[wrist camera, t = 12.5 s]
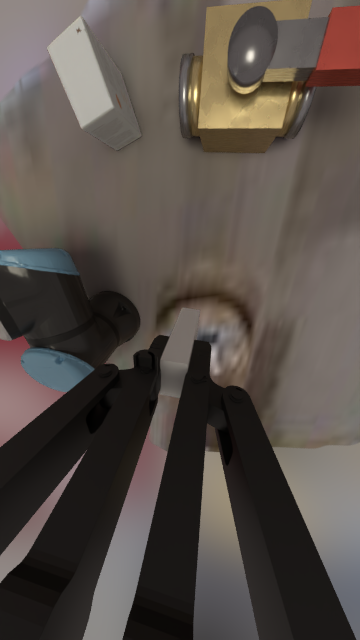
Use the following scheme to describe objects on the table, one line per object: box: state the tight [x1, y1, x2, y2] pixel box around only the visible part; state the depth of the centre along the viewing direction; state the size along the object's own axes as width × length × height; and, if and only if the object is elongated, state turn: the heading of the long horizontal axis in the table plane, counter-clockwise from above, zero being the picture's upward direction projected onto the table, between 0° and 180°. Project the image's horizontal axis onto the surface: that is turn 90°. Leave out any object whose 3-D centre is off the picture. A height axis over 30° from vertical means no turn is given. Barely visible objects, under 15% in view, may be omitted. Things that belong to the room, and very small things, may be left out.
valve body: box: [188, 0, 312, 153], centre depth 24 cm, size 14×9×11 cm, turn 87°
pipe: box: [179, 53, 316, 139], centre depth 25 cm, size 16×8×8 cm, turn 87°
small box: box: [47, 16, 142, 151], centre depth 27 cm, size 8×6×10 cm
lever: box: [227, 6, 360, 94], centre depth 18 cm, size 17×4×3 cm, turn 87°
